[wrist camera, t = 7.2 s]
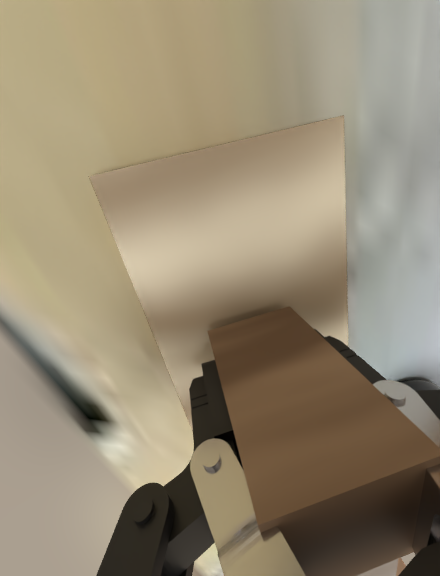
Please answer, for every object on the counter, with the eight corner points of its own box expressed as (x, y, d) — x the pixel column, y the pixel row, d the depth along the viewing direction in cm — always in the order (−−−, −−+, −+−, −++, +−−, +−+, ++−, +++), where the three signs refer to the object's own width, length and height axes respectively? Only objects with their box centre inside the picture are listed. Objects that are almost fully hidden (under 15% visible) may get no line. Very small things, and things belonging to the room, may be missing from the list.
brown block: (196, 334, 11) (232, 534, 4) (299, 303, 11) (467, 445, 5) (242, 476, 15) (293, 683, 9) (315, 450, 16) (416, 629, 9)
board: (97, 178, 10) (88, 176, 9) (325, 123, 11) (343, 115, 9) (230, 514, 20) (234, 533, 19) (341, 473, 21) (350, 488, 20)
